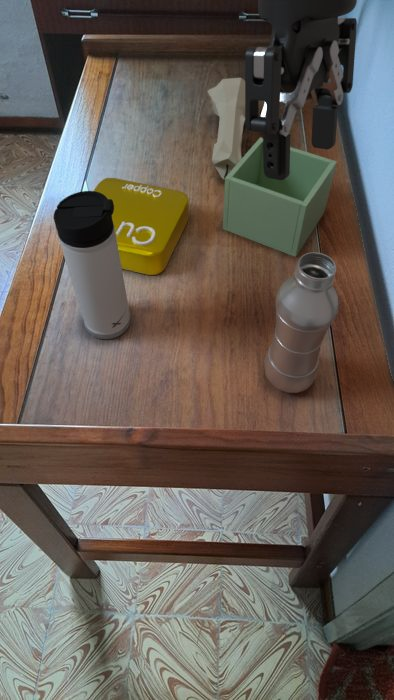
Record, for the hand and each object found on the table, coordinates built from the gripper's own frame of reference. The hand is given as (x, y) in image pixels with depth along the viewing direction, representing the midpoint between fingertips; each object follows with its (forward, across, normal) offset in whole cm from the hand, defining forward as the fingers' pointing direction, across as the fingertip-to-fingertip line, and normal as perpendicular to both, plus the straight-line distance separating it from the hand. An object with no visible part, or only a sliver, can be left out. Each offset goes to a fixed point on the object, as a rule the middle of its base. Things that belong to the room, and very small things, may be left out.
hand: (301, 161), depth 47 cm
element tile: (+18, +6, +33) cm, 38 cm away
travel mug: (+23, -8, +24) cm, 34 cm away
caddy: (+20, +23, +17) cm, 35 cm away
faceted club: (+14, +34, +34) cm, 50 cm away
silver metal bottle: (+28, 0, +1) cm, 28 cm away
